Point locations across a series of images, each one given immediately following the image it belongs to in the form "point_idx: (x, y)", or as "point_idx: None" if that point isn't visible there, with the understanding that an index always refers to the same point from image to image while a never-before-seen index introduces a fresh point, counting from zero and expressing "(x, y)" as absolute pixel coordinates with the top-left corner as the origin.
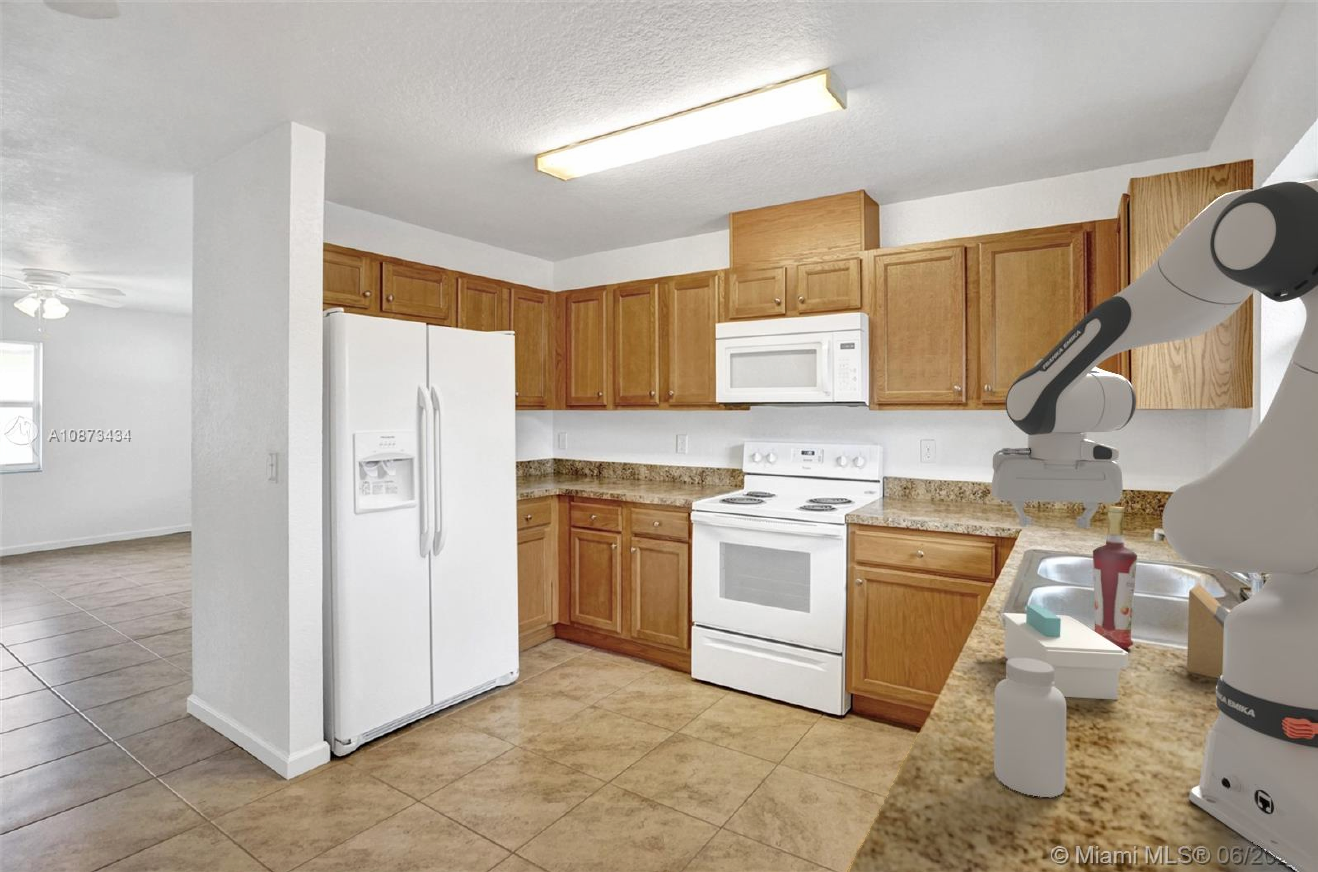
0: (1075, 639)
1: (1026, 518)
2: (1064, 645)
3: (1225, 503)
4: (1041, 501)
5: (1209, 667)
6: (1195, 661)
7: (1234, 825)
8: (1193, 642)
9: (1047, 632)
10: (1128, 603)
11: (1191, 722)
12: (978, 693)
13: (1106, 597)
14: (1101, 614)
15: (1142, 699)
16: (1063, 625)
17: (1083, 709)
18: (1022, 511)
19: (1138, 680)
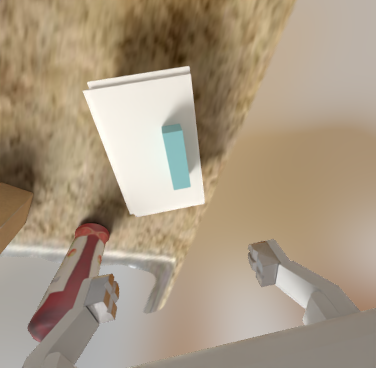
0: (144, 122)
1: (276, 259)
2: (163, 88)
3: None
4: (270, 333)
5: (8, 190)
6: (19, 197)
7: None
8: (10, 209)
9: (177, 125)
10: (65, 260)
11: (37, 35)
12: (246, 60)
13: (87, 262)
14: (96, 248)
15: (83, 97)
16: (147, 177)
17: (149, 42)
18: (305, 277)
19: (81, 152)
